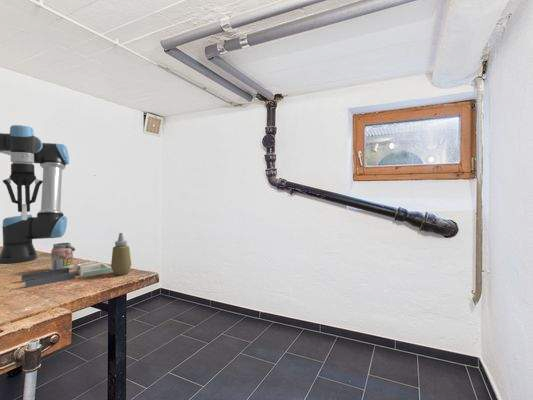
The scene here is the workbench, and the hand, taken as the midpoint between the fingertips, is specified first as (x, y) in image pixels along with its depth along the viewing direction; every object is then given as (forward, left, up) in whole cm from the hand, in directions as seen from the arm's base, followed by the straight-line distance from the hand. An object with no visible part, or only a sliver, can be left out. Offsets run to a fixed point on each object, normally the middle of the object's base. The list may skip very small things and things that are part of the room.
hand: (24, 219), depth 121 cm
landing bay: (+12, +22, -24) cm, 35 cm away
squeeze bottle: (+24, +30, -25) cm, 45 cm away
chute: (+12, +6, -24) cm, 28 cm away
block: (+12, +21, -25) cm, 34 cm away
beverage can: (-2, +14, -25) cm, 28 cm away
